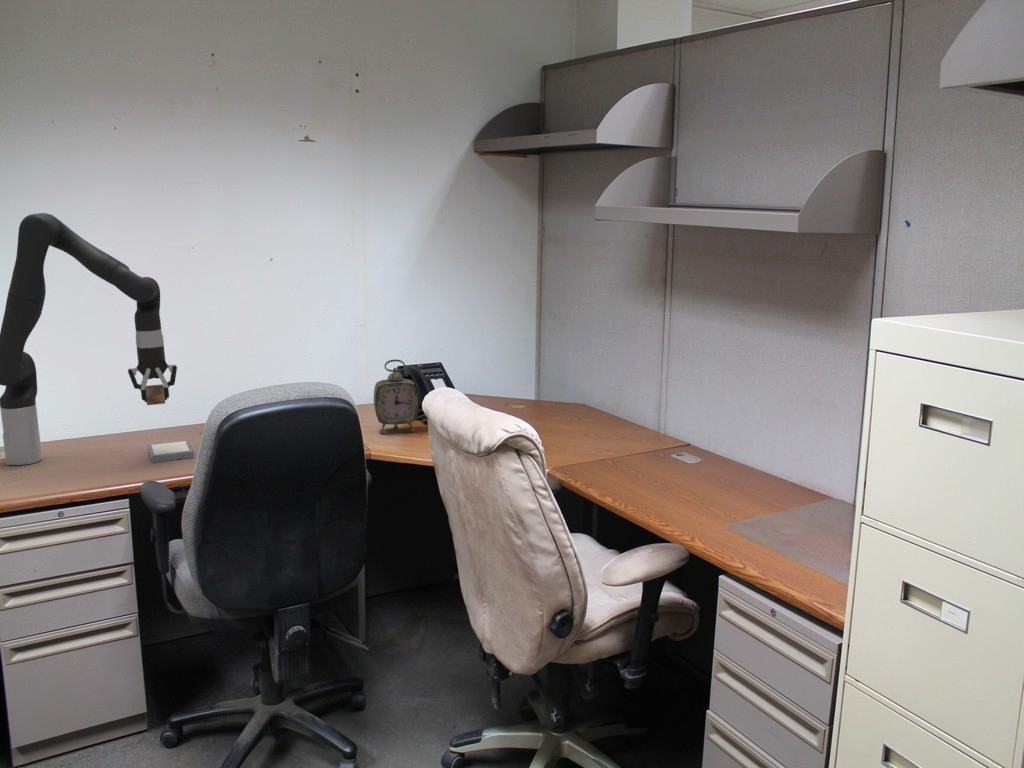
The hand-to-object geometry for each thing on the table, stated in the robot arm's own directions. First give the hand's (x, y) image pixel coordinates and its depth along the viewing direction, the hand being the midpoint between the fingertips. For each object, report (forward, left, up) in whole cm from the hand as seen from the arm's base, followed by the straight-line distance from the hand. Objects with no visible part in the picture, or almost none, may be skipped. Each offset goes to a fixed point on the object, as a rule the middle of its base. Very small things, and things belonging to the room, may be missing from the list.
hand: (155, 400), depth 253 cm
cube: (0, 0, -1) cm, 1 cm away
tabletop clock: (+75, -2, -18) cm, 77 cm away
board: (+3, +2, -18) cm, 18 cm away
